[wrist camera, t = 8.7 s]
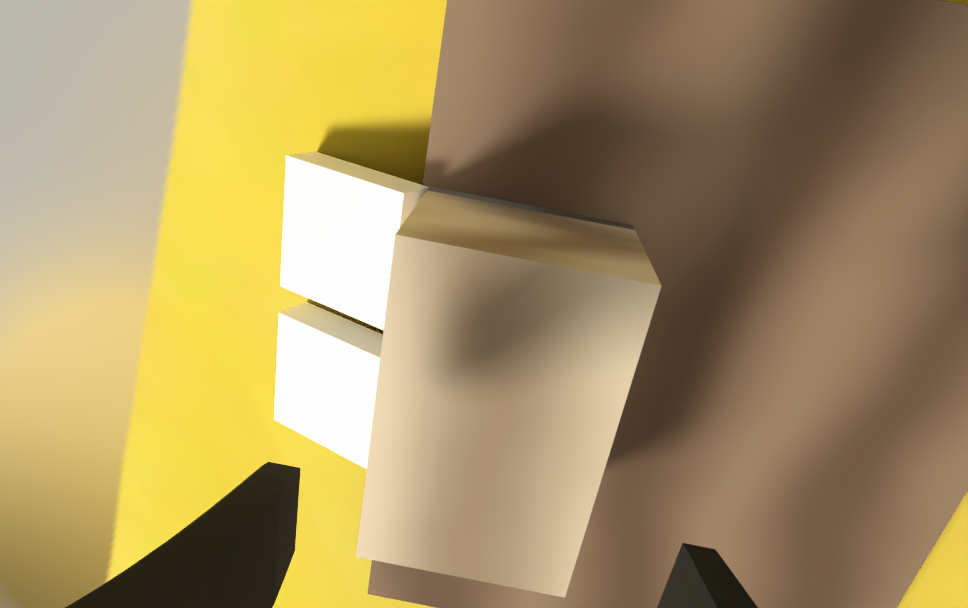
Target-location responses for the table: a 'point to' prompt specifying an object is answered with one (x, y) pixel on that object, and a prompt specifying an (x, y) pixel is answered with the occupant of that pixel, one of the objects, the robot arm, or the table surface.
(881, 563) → the walnut board
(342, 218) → the paint flake
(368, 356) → the paint flake
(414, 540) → the block
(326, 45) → the table surface
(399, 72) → the table surface
